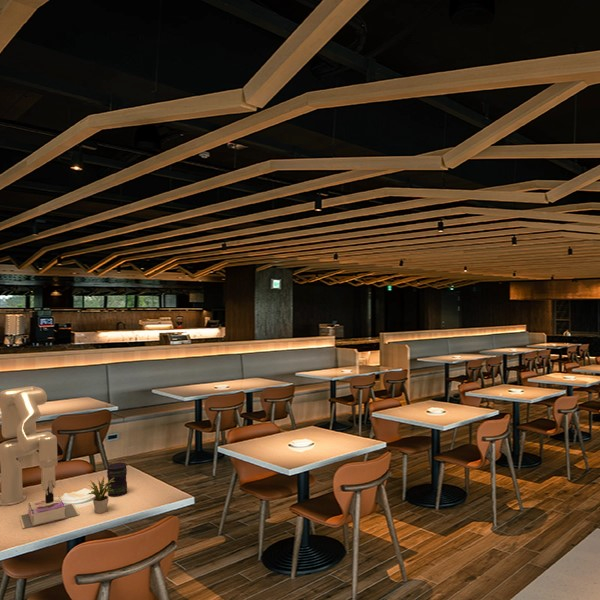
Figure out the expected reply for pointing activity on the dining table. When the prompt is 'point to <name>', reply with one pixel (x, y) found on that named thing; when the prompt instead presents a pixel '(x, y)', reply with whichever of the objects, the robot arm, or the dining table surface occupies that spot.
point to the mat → (69, 512)
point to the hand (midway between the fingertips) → (49, 502)
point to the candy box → (46, 511)
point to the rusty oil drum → (117, 479)
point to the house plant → (100, 496)
